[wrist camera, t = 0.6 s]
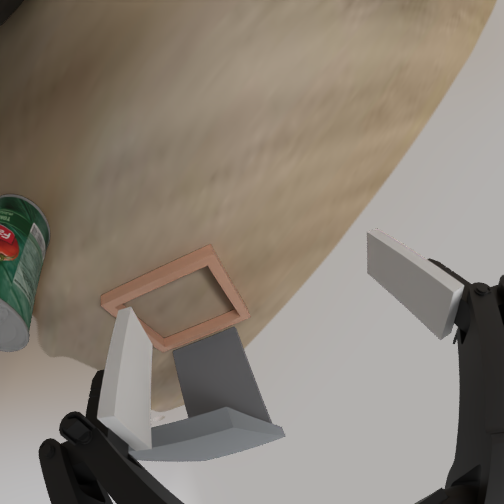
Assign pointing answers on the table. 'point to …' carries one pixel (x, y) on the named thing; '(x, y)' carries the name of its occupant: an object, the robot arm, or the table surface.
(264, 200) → the table surface
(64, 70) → the table surface
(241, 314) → the pink square frame
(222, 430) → the awning
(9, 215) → the canned tomato
